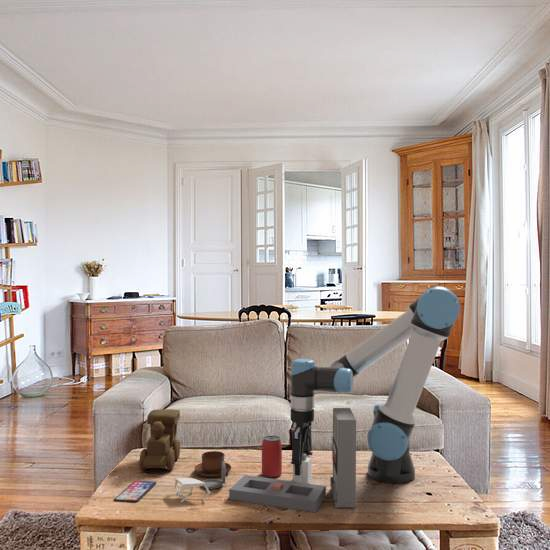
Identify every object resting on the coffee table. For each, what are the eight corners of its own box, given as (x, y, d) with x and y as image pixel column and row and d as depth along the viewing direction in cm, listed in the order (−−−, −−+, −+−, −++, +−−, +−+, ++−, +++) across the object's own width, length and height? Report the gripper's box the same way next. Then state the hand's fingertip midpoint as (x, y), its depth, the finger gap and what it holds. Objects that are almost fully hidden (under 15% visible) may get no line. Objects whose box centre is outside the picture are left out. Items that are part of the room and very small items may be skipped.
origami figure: (167, 503, 162) (167, 486, 162) (175, 491, 170) (175, 475, 170) (207, 505, 160) (207, 488, 160) (214, 493, 169) (214, 477, 169)
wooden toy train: (151, 454, 204) (151, 408, 204) (182, 454, 204) (182, 409, 204) (137, 474, 184) (137, 424, 184) (171, 475, 184) (172, 424, 184)
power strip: (325, 495, 167) (325, 483, 167) (315, 512, 156) (315, 498, 156) (244, 484, 176) (244, 472, 176) (229, 499, 164) (229, 486, 164)
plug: (311, 479, 180) (311, 453, 180) (308, 484, 176) (308, 457, 176) (296, 477, 182) (296, 451, 182) (292, 482, 178) (292, 455, 178)
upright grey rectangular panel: (329, 489, 172) (330, 407, 172) (349, 489, 172) (350, 407, 172) (334, 508, 159) (334, 419, 158) (356, 508, 159) (356, 420, 158)
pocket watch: (197, 485, 175) (197, 453, 175) (219, 479, 180) (219, 447, 180) (211, 493, 169) (211, 460, 169) (234, 486, 174) (234, 454, 174)
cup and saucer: (196, 467, 192) (196, 449, 192) (231, 466, 192) (231, 448, 192) (192, 480, 180) (192, 461, 180) (230, 479, 180) (230, 460, 180)
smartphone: (112, 499, 163) (134, 480, 178) (112, 502, 163) (134, 483, 178) (137, 500, 162) (157, 481, 177) (137, 504, 162) (157, 484, 177)
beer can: (282, 471, 187) (282, 435, 187) (280, 478, 181) (280, 441, 181) (262, 470, 188) (263, 434, 188) (260, 477, 182) (260, 440, 181)
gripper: (300, 400, 189) (299, 468, 190) (281, 415, 170) (280, 490, 171) (321, 402, 187) (321, 470, 187) (304, 417, 168) (304, 493, 168)
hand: (301, 480), depth 179 cm, fingers open, 7 cm apart
